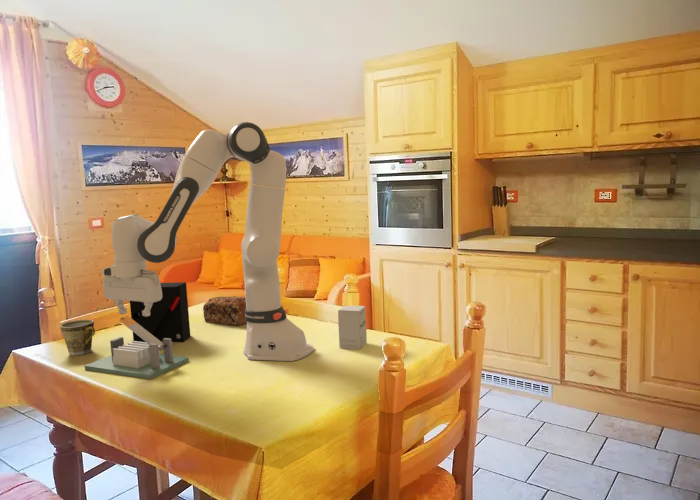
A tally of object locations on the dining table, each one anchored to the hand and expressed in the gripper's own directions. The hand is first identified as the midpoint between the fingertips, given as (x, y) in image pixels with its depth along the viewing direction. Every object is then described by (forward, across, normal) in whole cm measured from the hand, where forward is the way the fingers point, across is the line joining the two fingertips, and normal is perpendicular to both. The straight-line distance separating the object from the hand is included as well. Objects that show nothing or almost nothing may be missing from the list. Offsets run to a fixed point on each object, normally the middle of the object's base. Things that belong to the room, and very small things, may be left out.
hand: (134, 314), depth 162 cm
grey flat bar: (+6, -2, 0) cm, 6 cm away
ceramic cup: (+16, +29, -4) cm, 33 cm away
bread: (+16, +5, -52) cm, 55 cm away
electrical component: (+16, +13, -24) cm, 32 cm away
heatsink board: (+16, +1, 0) cm, 16 cm away
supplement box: (+15, -55, -37) cm, 68 cm away
